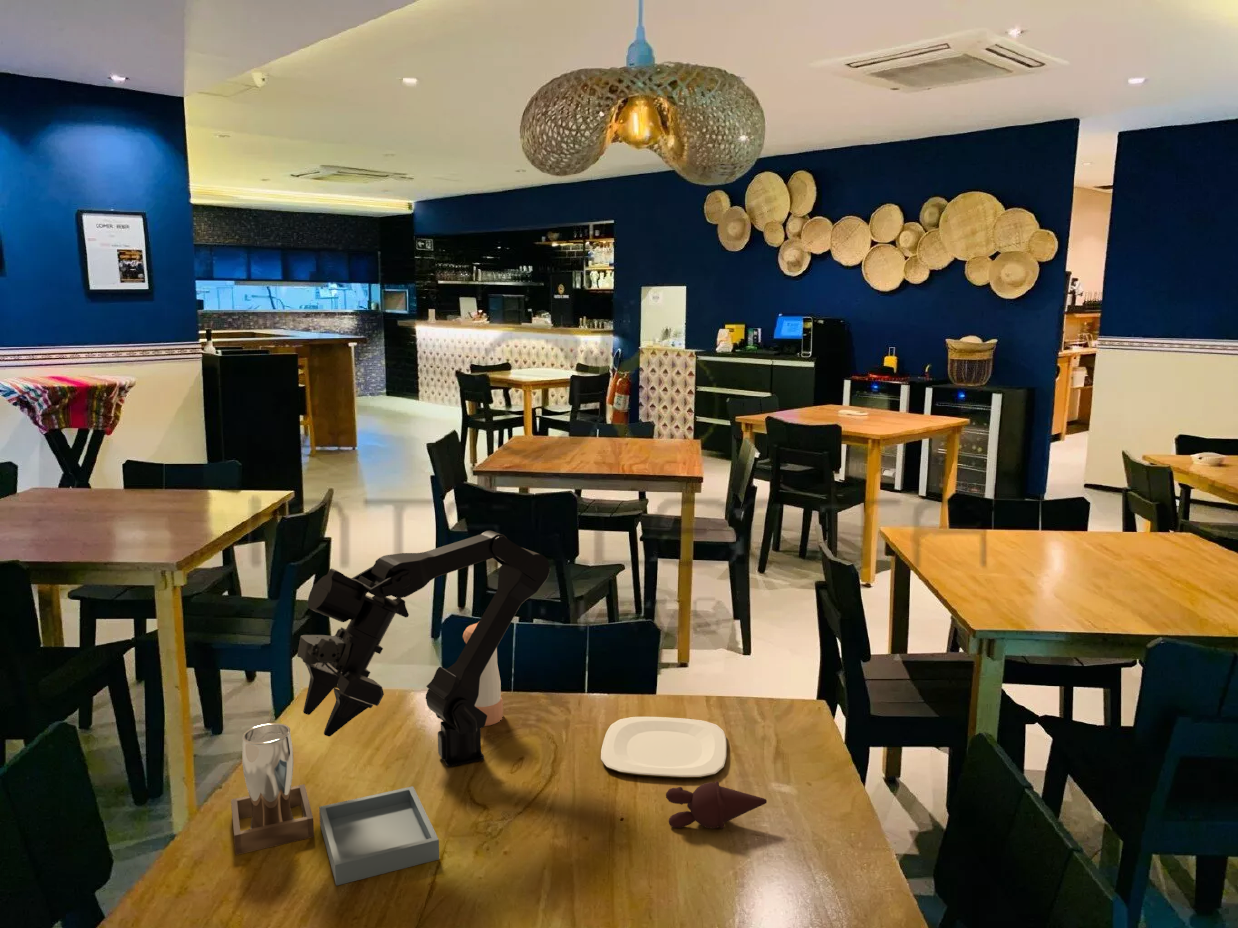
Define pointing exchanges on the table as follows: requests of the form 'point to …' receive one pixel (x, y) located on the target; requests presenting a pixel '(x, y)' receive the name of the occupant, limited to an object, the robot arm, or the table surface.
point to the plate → (664, 747)
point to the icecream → (711, 805)
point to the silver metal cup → (268, 772)
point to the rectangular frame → (273, 832)
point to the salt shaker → (488, 686)
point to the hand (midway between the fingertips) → (316, 724)
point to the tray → (377, 835)
